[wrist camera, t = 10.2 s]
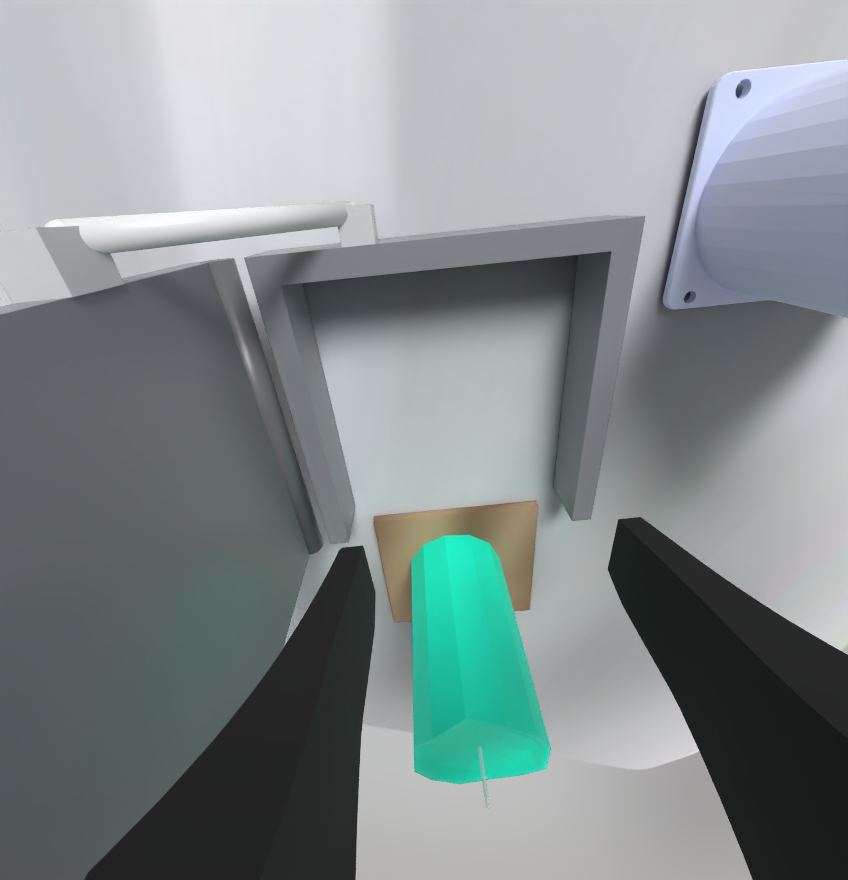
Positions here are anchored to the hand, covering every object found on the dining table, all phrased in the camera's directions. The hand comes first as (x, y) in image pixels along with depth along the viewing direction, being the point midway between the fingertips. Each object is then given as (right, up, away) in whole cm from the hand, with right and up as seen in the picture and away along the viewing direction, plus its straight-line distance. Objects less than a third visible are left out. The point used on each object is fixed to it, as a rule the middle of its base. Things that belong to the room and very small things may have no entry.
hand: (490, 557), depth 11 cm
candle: (0, -5, +15) cm, 15 cm away
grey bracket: (-2, +6, +8) cm, 10 cm away
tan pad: (0, -5, +15) cm, 16 cm away
